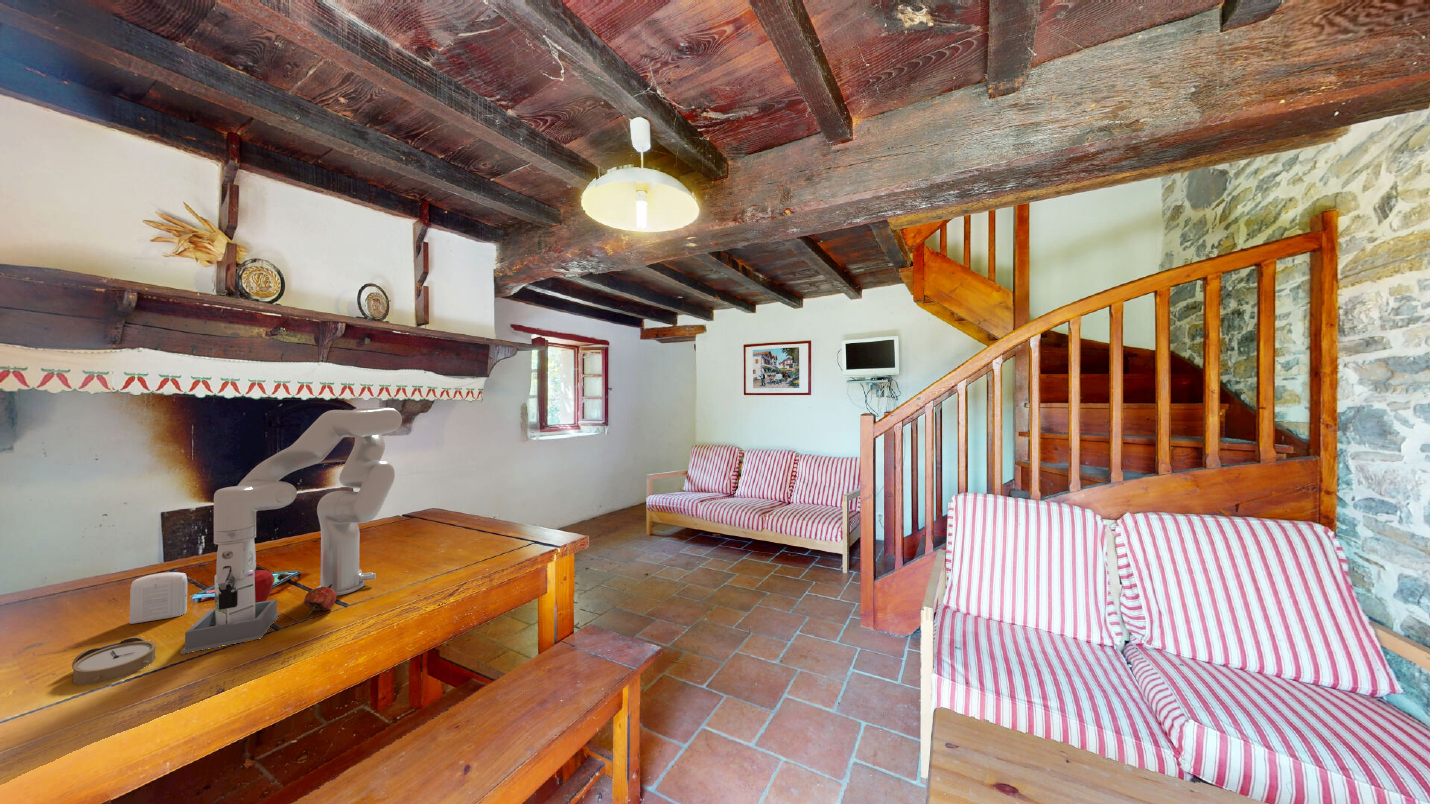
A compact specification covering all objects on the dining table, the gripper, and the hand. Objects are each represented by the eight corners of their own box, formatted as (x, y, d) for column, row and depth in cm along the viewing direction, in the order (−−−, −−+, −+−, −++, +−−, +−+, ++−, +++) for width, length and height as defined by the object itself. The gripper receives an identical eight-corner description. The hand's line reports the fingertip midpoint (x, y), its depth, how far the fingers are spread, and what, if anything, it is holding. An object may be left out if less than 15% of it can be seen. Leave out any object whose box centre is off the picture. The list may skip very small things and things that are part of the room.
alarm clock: (79, 679, 93) (64, 647, 100) (78, 701, 94) (63, 667, 100) (163, 652, 103) (144, 625, 110) (162, 672, 104) (143, 643, 110)
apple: (277, 596, 137) (278, 561, 137) (268, 609, 129) (269, 572, 129) (232, 604, 132) (232, 568, 132) (219, 618, 124) (220, 579, 124)
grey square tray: (279, 615, 126) (279, 598, 126) (261, 639, 114) (261, 620, 114) (208, 628, 119) (208, 609, 119) (180, 654, 107) (181, 634, 107)
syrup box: (256, 623, 118) (256, 569, 118) (226, 634, 113) (226, 578, 113) (243, 619, 120) (243, 566, 120) (213, 630, 115) (213, 574, 114)
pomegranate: (323, 624, 126) (351, 591, 134) (303, 611, 122) (333, 577, 129) (305, 623, 128) (333, 590, 136) (284, 610, 124) (315, 577, 132)
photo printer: (189, 610, 128) (190, 567, 128) (183, 616, 125) (183, 572, 125) (134, 619, 123) (134, 575, 122) (125, 626, 119) (126, 580, 119)
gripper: (242, 541, 111) (242, 611, 111) (266, 523, 126) (266, 585, 126) (198, 546, 107) (198, 619, 107) (229, 527, 122) (229, 591, 122)
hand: (235, 600), depth 116 cm, fingers closed on syrup box, 8 cm apart
